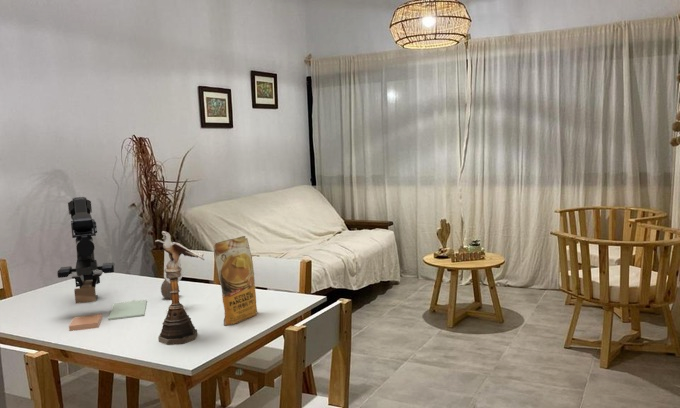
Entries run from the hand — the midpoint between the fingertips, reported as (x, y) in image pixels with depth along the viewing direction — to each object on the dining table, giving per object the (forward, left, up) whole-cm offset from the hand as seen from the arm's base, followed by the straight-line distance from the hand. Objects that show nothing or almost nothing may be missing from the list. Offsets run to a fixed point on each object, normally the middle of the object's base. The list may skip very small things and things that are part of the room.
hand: (89, 292), depth 203 cm
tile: (+7, 0, -7) cm, 10 cm away
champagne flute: (+7, +30, -8) cm, 32 cm away
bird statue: (+37, +32, -8) cm, 50 cm away
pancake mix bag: (+27, +51, -8) cm, 58 cm away
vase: (-11, +28, -8) cm, 31 cm away
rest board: (0, +13, -8) cm, 15 cm away
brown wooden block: (+3, 0, -1) cm, 3 cm away
